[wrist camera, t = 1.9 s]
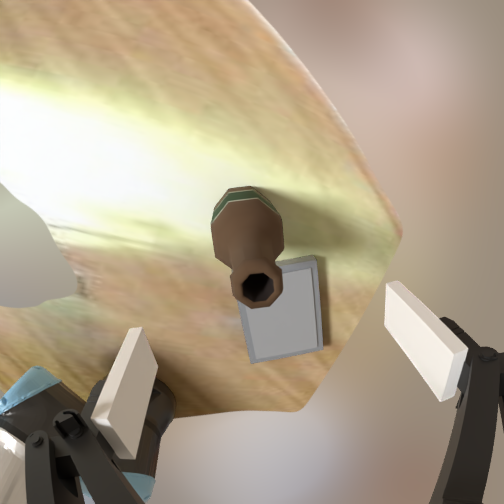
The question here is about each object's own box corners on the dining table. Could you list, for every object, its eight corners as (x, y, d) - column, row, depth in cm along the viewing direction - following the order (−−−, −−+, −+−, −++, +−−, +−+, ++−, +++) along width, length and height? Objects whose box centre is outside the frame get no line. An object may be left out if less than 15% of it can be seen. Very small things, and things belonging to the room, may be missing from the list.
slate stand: (250, 356, 52) (251, 364, 49) (231, 269, 46) (231, 275, 44) (320, 342, 52) (323, 350, 50) (313, 254, 46) (317, 260, 44)
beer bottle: (222, 177, 42) (215, 217, 19) (278, 192, 43) (332, 248, 20) (208, 231, 44) (188, 324, 22) (261, 245, 45) (293, 346, 23)
